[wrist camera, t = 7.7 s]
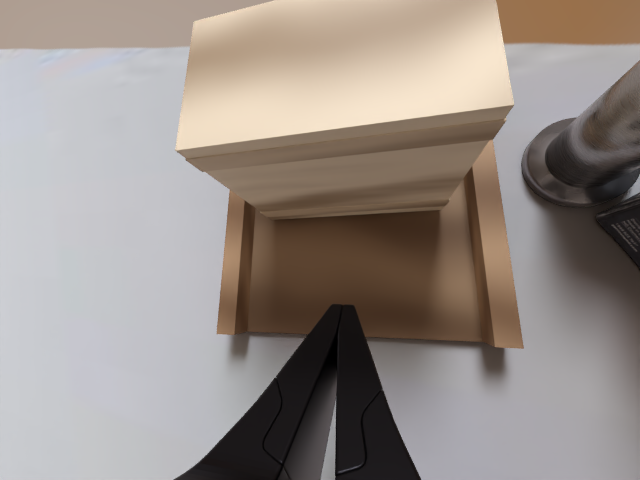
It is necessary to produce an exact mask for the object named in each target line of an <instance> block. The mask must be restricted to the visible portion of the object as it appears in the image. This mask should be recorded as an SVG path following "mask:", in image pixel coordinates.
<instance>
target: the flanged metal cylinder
mask: <svg viewBox="0 0 640 480" xmlns="http://www.w3.org/2000/svg"><path fill="white" fill-rule="evenodd" d="M522 172H523V175H524V178H525V180H526V182H527V183H528V185H529V186H530V187H531V188H532V190H533V191H535V192H536V193H537V194H538V195H539V196H541V197H542V198H544V199H546V200H548V201H550V202H552V203H555V204H558V205H561V206H566V207H590V206H594V205H598V204H601V203H603V202H606V201H608V200H610V199H613V198H615V197H617V196H619V195H621V194H623V193H624V192H626V191H627V190H628V189H629V188H630V187H632V185H633V184H634V183H635V182H636V180H637V178H638V177H639V174H640V61H638V62H637V63H636V64H635V65H634V66H633V67H632V68H631V69H630V70H629V71H628V72H626V73H625V74H624V75H623V76H622V77H621V78H620V79H619V80H618V81H617V82H616V83H615V84H613V85H612V86H611V87H610V88H609V89H608V90H607V91H606V92H605V93H604V94H603V95H601V96H600V97H599V98H598V99H597V100H596V101H595V102H594V103H593V104H592V105H591V106H589V107H588V108H587V109H586V110H585V111H584V112H583V113H582V114H581V115H580V116H579V117H577V118H570V119H565V120H561V121H558V122H556V123H553V124H551V125H550V126H548V127H546V128H545V129H543V130H542V131H541V132H540V133H539V134H538V135H537V136H536V137H535V138H534V139H533V140H532V141H531V142H530V144H529V145H528V146H527V148H526V149H525V152H524V154H523V157H522Z"/></svg>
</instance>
